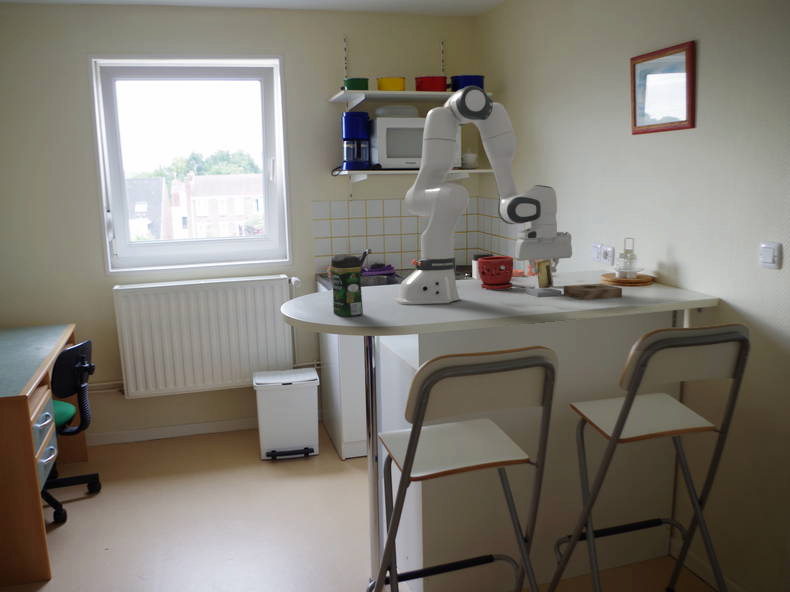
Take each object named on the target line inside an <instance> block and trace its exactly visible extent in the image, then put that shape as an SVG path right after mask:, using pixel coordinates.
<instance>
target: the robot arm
mask: <svg viewBox="0 0 790 592" xmlns="http://www.w3.org/2000/svg"><path fill="white" fill-rule="evenodd" d="M471 123H472V124H474V125H475V126H476V128H477V129H478V132H479V134H480V138H481V141H482V145H483V146H482V147H483V149H484V151H485V155H486V157H487V159H488V161H489V164H490V166H491V169H492V172H493V177H494V180H495V185H496V188H497V192H498V205H497V214H498V217H499V218H500V219H501V221H502V222H503V223H505V224H508V225H523V224H525V223H530V227H529V228H525V229H523V230H521V231H519V232H517V234H516V235H517V238H518V239H517V240H516V242H515V248H514V250H515V251H514V257H515V259H516V260H517V261H519V262H520V261H522V262H523V261H529V262H528V265H529V264H530V266H531V267H532V273H538V268H536V267H535V265H534V263H535V260H542V259H553V262H554V263H553V265H552V266H551V268H552V272H555V271H556V269H557V266H558V264H559V263H560V259H570V258H571V257H572V256H573V248H572V247H573V246H572V235H571V233H570V232H568V231H558V221H557V213H558V203H557V202H558V201H557V200H558V199H557V193H556V190H555V189H554V188H553V187H551V186H548V185H543V184H535V185H533V186H532V187H531V188H529V189H528V190H526V191H523V192H522V193H520V194H518V191H517V187H516V184H515V178H514V174H513V170H512V169H513V162H514V158H515V157H516V155H517V151H518V147H517V139H516V134H515V131H514V127H513V124H512V121H511V119H510V116H509V114H508V111H507V110H506V108H505V106H504V105H503V104H502V103H500V102H493V100H492V99H491V98H490V97H489V96H488V93H487V92H485V90H484V89H483V88H481V86H477V85H468V86H464V88H461V89H458V90H457V91H455V92H454V93H452V94H451V95H450V96H449V97H448V98H447V99H446V100H445V102H444V104H443V105H442V106H438V107H434V108H431V109H430V110H429V111H428V113H427V114H426V118H425V123H424V127H423V135H422V148H421V149H422V150H421V151H422V152H421V162H420V167H419V171H418V174H417V177H416V179H415V180H414V183H413V184H412V186H411V187H410V188H409V189H408V190H407V192H406V194H405V198H404V202H405V207H406V209H407V211H408V212H409V213H411V214H412V215H415V216H418V217H422V218H423V217H424V218H427V217H428V218H429V223H428V226H427V228H426V229H425V230H424V231H422V234H421V236H420V258H419V259H412V261H411V265H412V266H415V270H414V271H413V272H412V273H411V274H410V275H409V276H407V277H406V278H405V279H403V280H402V282H401V283H400V286H399V292H398V294H399V295H396V296H394V297H393V298H392V300H393V301H394V302H395V303H396V302H397V303H396V304H400V305H423V304H424V305H425V304H426V305H428V304H430V305H431V304H449V303H451V302H453V301H454V302H455V301H458V300H460V296H459V293H458V289H457V288H458V287H457V283H456V282H457V281H456V276H455V274H456V271H457V269H456V268H457V265H456V257H455V255H454V254H455V253H454V252H455V251H454V250H455V247H454V244H455V232H456V228H457V225H458V222H459V221H460V220H459V219H460V218H461V216H462V215H463V214H464V213H465V211H467V210H468V206H469V203H470V195H469V192H468V191H467V189H466V188H465V186H463V185H460V184H456V183H452V182H445V181H446V177H447V176H448V174H449V173H450V172H451V171H452V170H453V169H454V167H455V164H456V151H457V150H456V148H457V131H458V128H459V127H461V126H464V125H465V124H471Z"/></svg>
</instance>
